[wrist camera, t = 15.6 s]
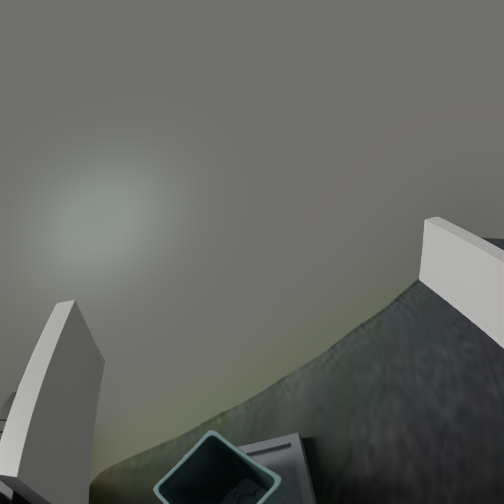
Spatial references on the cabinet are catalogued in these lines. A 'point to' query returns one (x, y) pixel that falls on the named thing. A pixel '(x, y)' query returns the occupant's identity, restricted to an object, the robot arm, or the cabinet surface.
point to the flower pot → (220, 477)
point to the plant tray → (285, 466)
